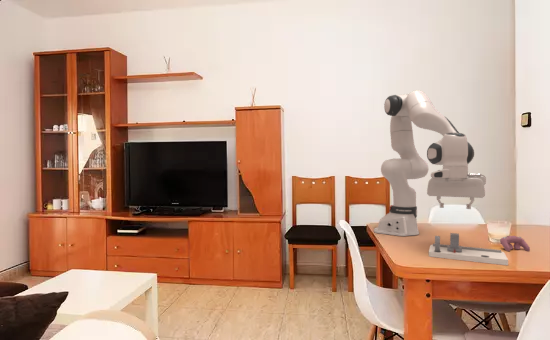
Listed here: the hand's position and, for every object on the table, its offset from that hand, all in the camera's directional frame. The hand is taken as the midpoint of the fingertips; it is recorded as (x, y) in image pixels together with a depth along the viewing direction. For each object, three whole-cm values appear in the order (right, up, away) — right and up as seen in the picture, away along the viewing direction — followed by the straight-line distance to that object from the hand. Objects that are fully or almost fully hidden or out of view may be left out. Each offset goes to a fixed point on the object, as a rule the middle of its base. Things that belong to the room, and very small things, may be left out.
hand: (454, 208), depth 134 cm
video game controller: (+29, -19, +8) cm, 36 cm away
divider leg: (0, -17, 0) cm, 17 cm away
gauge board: (+4, -19, -1) cm, 19 cm away
